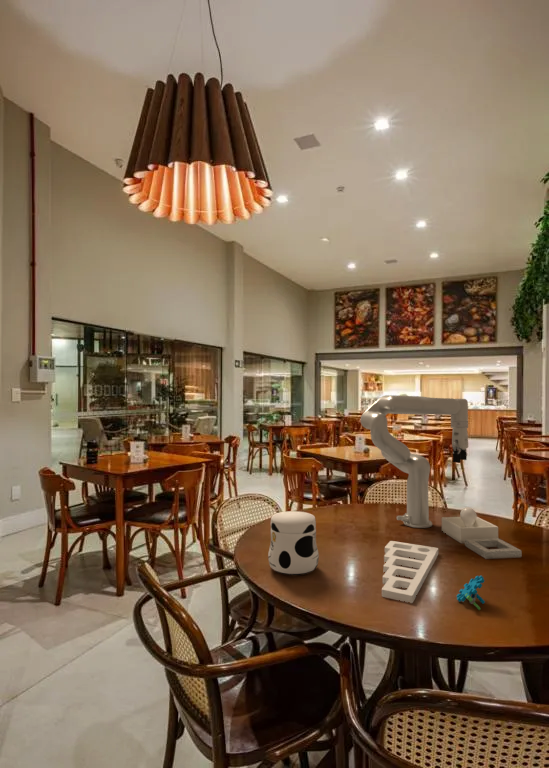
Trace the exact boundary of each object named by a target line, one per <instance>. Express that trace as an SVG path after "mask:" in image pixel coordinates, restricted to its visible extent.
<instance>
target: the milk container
mask: <svg viewBox="0 0 549 768" xmlns="http://www.w3.org/2000/svg"><path fill="white" fill-rule="evenodd" d="M316 525H317V522H316V517H315V515H314V514H311V513H310V512H306V511H299V510H298V511H293V510H292V511H290V510H289V511H280V512H276V513H275V514H274V513H273V515H272V516H271V518H270V545H269V549H268V553H267V554H268V555H267V559H268V565H269V566H270V568H271V569H272V570H273V571H274V572H276V573H277V574H280V575H283V576H289V577H290V576H303V575H307V574H310V573H312V572H314V571H315V570H316V569H317V567H318V565H319V557H320V553H319V550H318V546H317V527H316Z"/></svg>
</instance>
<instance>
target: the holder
mask: <svg viewBox="0 0 549 768" xmlns="http://www.w3.org/2000/svg"><path fill="white" fill-rule="evenodd" d="M438 555H439V547H433V546H427V545H420V544H414V543H407V542H400V541H395V540H389V542H388V543H387V544H386V545H385V546H384V555H383V562H384V564H383V566H382V567H383V570H382V571H383V573H384V572H385V573H384V574H383V575H382V585H383V586H382V588H381V597H382V598H387V599H391V600H395V601H399V600H400V601H401V602H404V601H405V603H408V602H410V603H409V604H413V603H414V601H415V599H416V597H417V596H418V594H419V591H420V590H421V588H422V586H423V584H424V582H425V581H426V578H427V576H428V575H429V573H430V571H431V569H432V567H433V565H434V564H435V562H436V560H437V558H438ZM409 557H410V558H409ZM414 558H415V559H414ZM385 562H386V563H385ZM401 565H402V566H401ZM412 567H413V568H412ZM396 575H397V576H396ZM399 575H400V577H399ZM404 576H405V577H406V578H405V577H404ZM409 577H410V579H409ZM401 587H402V589H401ZM405 588H407V589H405ZM416 595H417V596H416Z"/></svg>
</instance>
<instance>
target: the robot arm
mask: <svg viewBox="0 0 549 768" xmlns="http://www.w3.org/2000/svg"><path fill="white" fill-rule="evenodd" d="M468 411H469V402H468V400H467V399H466V398H452V397H450V398H449V397H448V398H444V397H428V396H418V395H396V394H395V395H394V394H393V395H392V394H391V395H389V394H388V395H387V394H386V395H383V396H381V397H379V398H378V399H377V400H376V401H375V402H374V403H372V404H371V405H370V406H369V407H368V408H367V409H366V410H365V411H364V412H363V413H362V414H361V415H360V424H361V426H362V427H363V428H365V429H366V430H370V439H371V441H372V443H373V445H374V447H376V448H377V449H378V450H380V452H381V455H382V457H383V458H384V459H385V460H386V461H388V462H389V464H391V465H393V466H394V467H396V468H397V469H399V471H401V472H403V473H404V474H405V473H406V474H408V477H407V481H406V512H405V513H404V514H403V515H396V520H397V521H401V522H403V524H404V525H405V526H407V527H410V528H414V529H415V528H417V529H427V528H430V527H432V526H433V522H432V521H431V520H429V518H430V517H429V514H430V513H429V478H430V472H431V465H430V462H429V460H428V459H426V457H424V456H422V455H418V454H415V453H411V451H410V449H409V447H408V446H407V445H406V444H404V442H402V441H401V440H398V439H397V438H396V437H394V436H393V435H392V434H391V433H390V432H389V429H388V419H387V415H388V414H392V415H418V416H419V415H421V416H423V415H424V416H425V415H439V416H440V415H441V416H443V415H444V416H446V415H447V416H448V415H449V416H450V428H451V429H452V436H451V447H452V463H459V464H460V463H461V461H467V457H468V456H467V449H468V448H469V435H468V433H469V432H468V428H469V412H468Z"/></svg>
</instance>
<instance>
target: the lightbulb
mask: <svg viewBox="0 0 549 768" xmlns="http://www.w3.org/2000/svg"><path fill="white" fill-rule="evenodd" d="M459 517H461V519H462V520H463V522H464V525H465V527H472V526H473V523H474V521H475V520H476V518H477V517H478V514H477V513H476V510H475V509H474V508H472V507H469V506H468V507H467V506H466V507H464V508H462V509H461V511H460V515H459Z"/></svg>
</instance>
